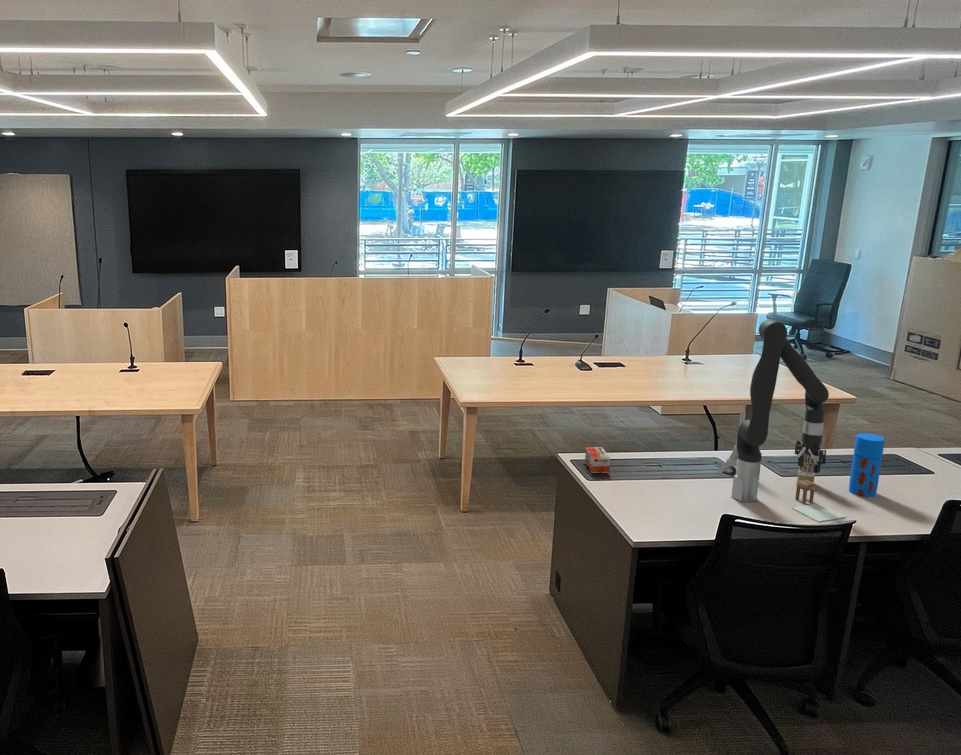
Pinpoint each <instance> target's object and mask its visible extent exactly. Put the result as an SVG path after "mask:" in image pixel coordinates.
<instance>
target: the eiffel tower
mask: <svg viewBox="0 0 961 755" xmlns="http://www.w3.org/2000/svg"><path fill="white" fill-rule="evenodd" d="M746 416H747V414H746V410H745V408H742V410H741V412H740V415H739V417H740V420H739V426H740V425H741V423H742V422H743V421H745V420H746ZM737 459H738V452H737V439H736V441H735V445H733V450H732V452H731V454H730V456H729V457H728V458H726V459H725V460H726V461H725V462H724V463H723V464H722V466H720V468H719V469H718V470H717V471H716V473H719V474H724V473H725V472H726V469H727V468H728V467H729V468H734V467H736V468H737ZM723 472H724V473H723Z"/></svg>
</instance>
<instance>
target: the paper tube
mask: <svg viewBox="0 0 961 755" xmlns="http://www.w3.org/2000/svg"><path fill="white" fill-rule="evenodd" d="M802 449H803V447H802ZM815 457H817V455H816V456H815ZM814 465H815V462H814V460H813V459H812V457H810V456H809V455H805V456H804V465H803V466H798V469H797V470H798V472H797V481H801V480H808V481H810V482H813V483H814V482H815V475H816V473H814ZM797 481H796V482H797Z"/></svg>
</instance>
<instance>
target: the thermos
mask: <svg viewBox="0 0 961 755" xmlns="http://www.w3.org/2000/svg"><path fill="white" fill-rule="evenodd" d="M884 447H885V438H884V437H883V436H881V435H878V434H874V433H868V432H867V433H858V434H856V436H855V442H854V449H853V455H852V462H851V470H850V474H849V475H850V476H849V484H848V491H849V493H850V494H852V495H854V496H857V497H861V498H873V497H876V495H877V491H878V486H879V485H878V484H879V480H880V474H881V473H880V472H881V467H882V460H883V459H882V458H883V453H884Z"/></svg>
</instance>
